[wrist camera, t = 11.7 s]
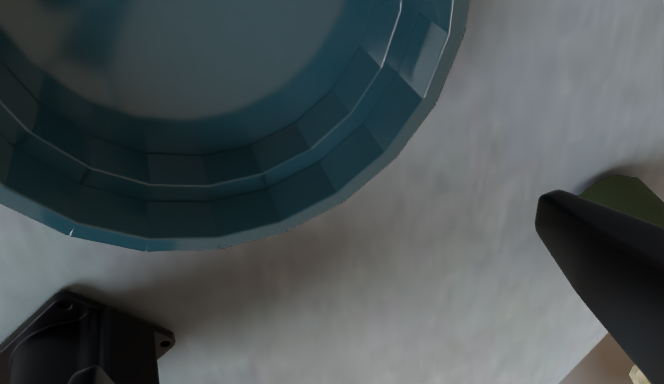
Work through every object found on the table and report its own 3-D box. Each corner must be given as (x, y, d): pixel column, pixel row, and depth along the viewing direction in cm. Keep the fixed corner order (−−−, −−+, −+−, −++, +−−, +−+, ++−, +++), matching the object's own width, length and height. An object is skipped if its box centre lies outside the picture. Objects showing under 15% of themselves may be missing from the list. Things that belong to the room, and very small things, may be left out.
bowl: (202, 231, 23) (219, 308, 20) (-236, -26, 13) (-345, 41, 10) (473, -10, 21) (544, 33, 17) (170, -563, 11) (202, -713, 7)
